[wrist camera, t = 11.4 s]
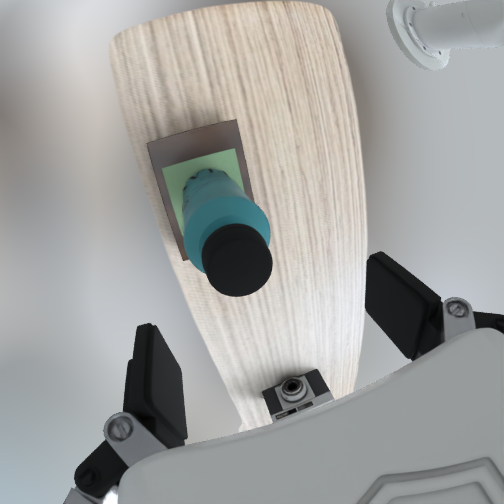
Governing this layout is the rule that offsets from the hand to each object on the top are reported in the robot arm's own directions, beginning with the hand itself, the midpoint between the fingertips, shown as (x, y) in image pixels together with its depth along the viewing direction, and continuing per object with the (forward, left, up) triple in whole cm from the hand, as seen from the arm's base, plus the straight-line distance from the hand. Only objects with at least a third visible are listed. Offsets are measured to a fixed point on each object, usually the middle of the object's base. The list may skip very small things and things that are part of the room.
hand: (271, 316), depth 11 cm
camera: (+36, +29, -29) cm, 55 cm away
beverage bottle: (0, 0, -25) cm, 25 cm away
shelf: (0, 0, -28) cm, 28 cm away
